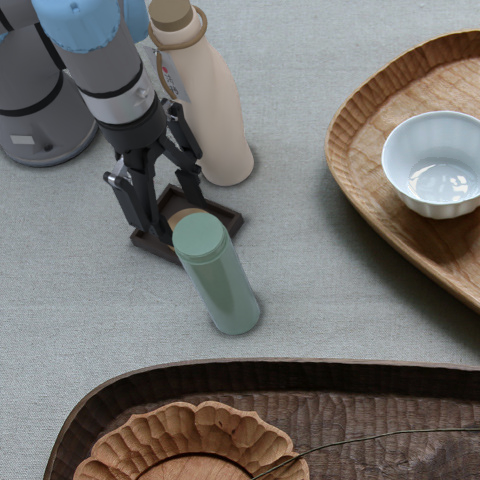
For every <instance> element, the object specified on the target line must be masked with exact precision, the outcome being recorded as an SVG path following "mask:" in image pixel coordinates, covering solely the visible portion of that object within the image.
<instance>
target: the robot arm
mask: <svg viewBox="0 0 480 480" xmlns="http://www.w3.org/2000/svg"><path fill="white" fill-rule="evenodd" d="M146 4H147V3H146V1H145V0H0V147H1V149H2V150H3V152H5V154H6V155H7V156H8V157H9V158H10V159H12V161H15V162H17V163H19V164H21V165H24V166H27V167H34V168H35V167H36V168H42V167H45V168H46V167H52V166H55V165H59V164H63V163H64V162H68V161H70V160H71V159H73V158H74V157H76V156H77V155H79V154H81V153H82V151H84V150H85V149H86V148H87V147H88V146H89V145H90V144H91V143H92V141H93V140H94V138H95V136H96V134H97V133H98V129H100V131H101V133H102V135H103V136H104V138H105V139H106V141H107V143H109V145H110V146H111V147H112V148H113V152H114V159H115V161H116V163H115V165H114V167H113V169H112V171H108V170H106V171H104V173H103V174H102V180H103V181H104V182H105V183H106V184H107V185H108V186H110V187H111V189H112V191H113V194H114V195H115V198H116V200H117V202H118V204H119V206H120V209H121V211H122V213H123V215H124V217H125V219H126V222H127V223H128V225H129V226H131V227H133V228H135V229H136V228H137V229H139V230H142V231H144V232H147V231H148V230H149V232H150V233H151V234H153V235H155V236H157V237H158V238H159V240H160V242H163V243H165V244H167V245H169V246H172V247H174V245H173V240H172V237H173V231H172V229H171V227H170V225H169V223H168V221H167V220H166V218H165V216H164V215H161V214H159V212H158V206H157V195H156V187H155V180H154V178H155V177H156V176H157V174H156V167H155V164H156V162H157V160H158V158H160V157H161V156H162V155H163V156H164V157H165V158H167V160H169V161H170V162H171V163H172V164H174V165H175V166H176V167H178V168H176V169H175V171H174V175H175V176H176V179H177V182H178V183H179V185H180V188H182V190H183V192H184V194H185V196H186V198H187V200H188V202H189V203H191V204H193V205H196V206H198V207H200V208H203V209H205V208H206V207H207V203H206V201H205V196H204V193H203V191H202V189H201V187H200V185H201V178H200V174H201V173H202V167H201V166H199V165H198V164H197V163H196V161H197V159H198V160H200V159H201V158H202V156H203V152H202V150H201V148H200V146H199V144H198V142H197V140H196V139H195V137H194V135H193V133H192V131H191V129H190V127H189V125H188V124H187V122H186V120H185V117H184V111H183V106H182V104H180V103H178V102H175V101H174V100H173V99H169V98H167V97H162V98H161V100H160V98H159V95H158V93H157V91H156V90H155V87H154V84H153V82H152V80H151V78H150V75H149V72H148V71H147V68H146V66H145V63H144V61H143V60H142V58H141V55H140V53H139V51H138V49H137V47H136V44H138V43H140V42H142V41H145V40H146V39H147V38H148V36H149V34H148V25H149V22H150V16H149V11H148V9H147V5H146ZM64 70H67V71H68V72H69V74H70V75H69V74H68V73H67V72H66V71H64ZM167 129H169V131H170V133H171V135H172V137H173V139H174V141H175V142H173V141H172V140H171V139H170V138H169V137H168V135H167V131H168V130H167ZM176 143H177V144H176ZM177 145H178V147H179V148H178V147H177ZM129 175H130V177H129Z"/></svg>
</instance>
